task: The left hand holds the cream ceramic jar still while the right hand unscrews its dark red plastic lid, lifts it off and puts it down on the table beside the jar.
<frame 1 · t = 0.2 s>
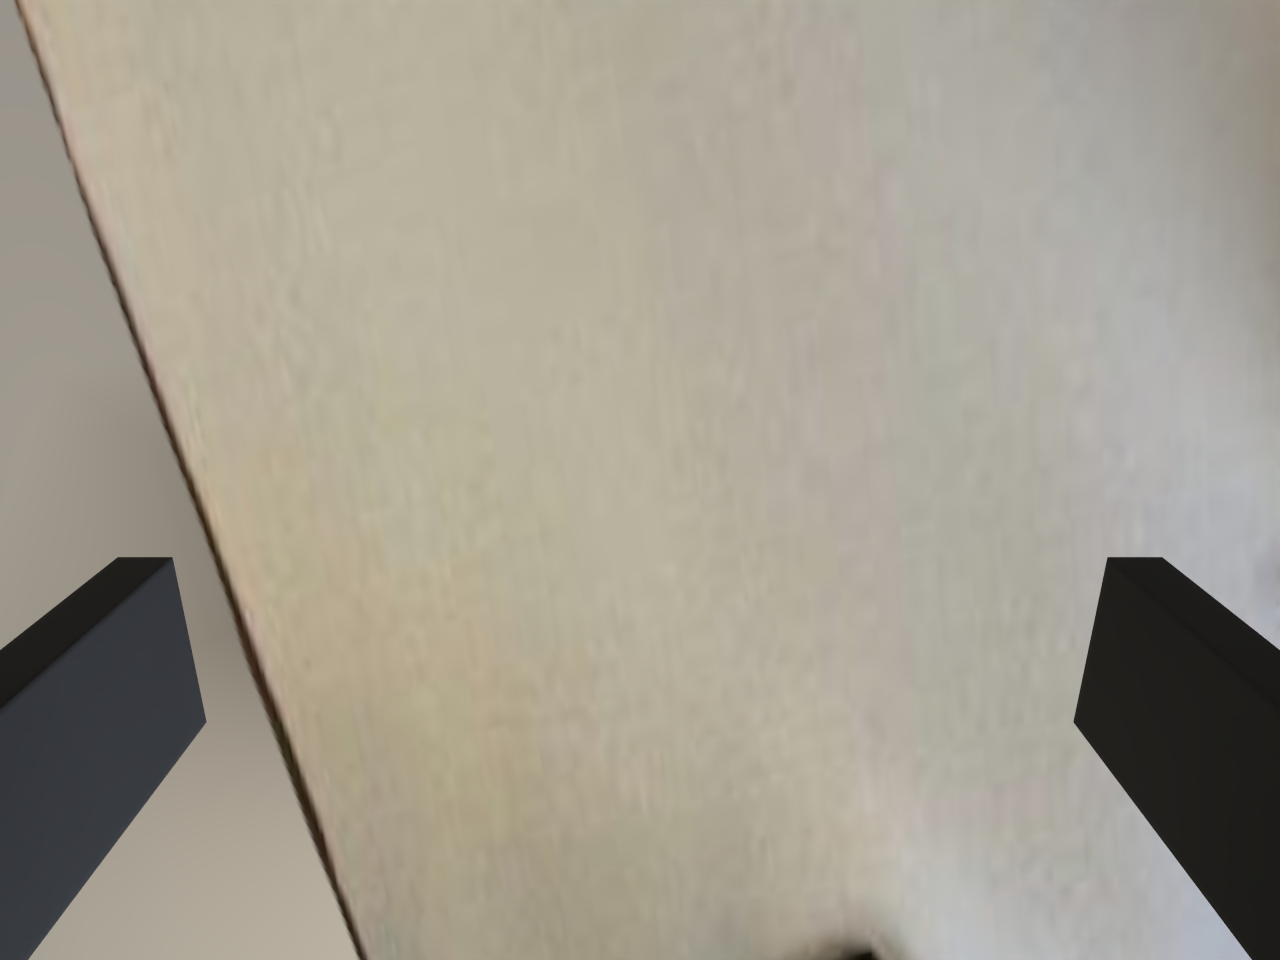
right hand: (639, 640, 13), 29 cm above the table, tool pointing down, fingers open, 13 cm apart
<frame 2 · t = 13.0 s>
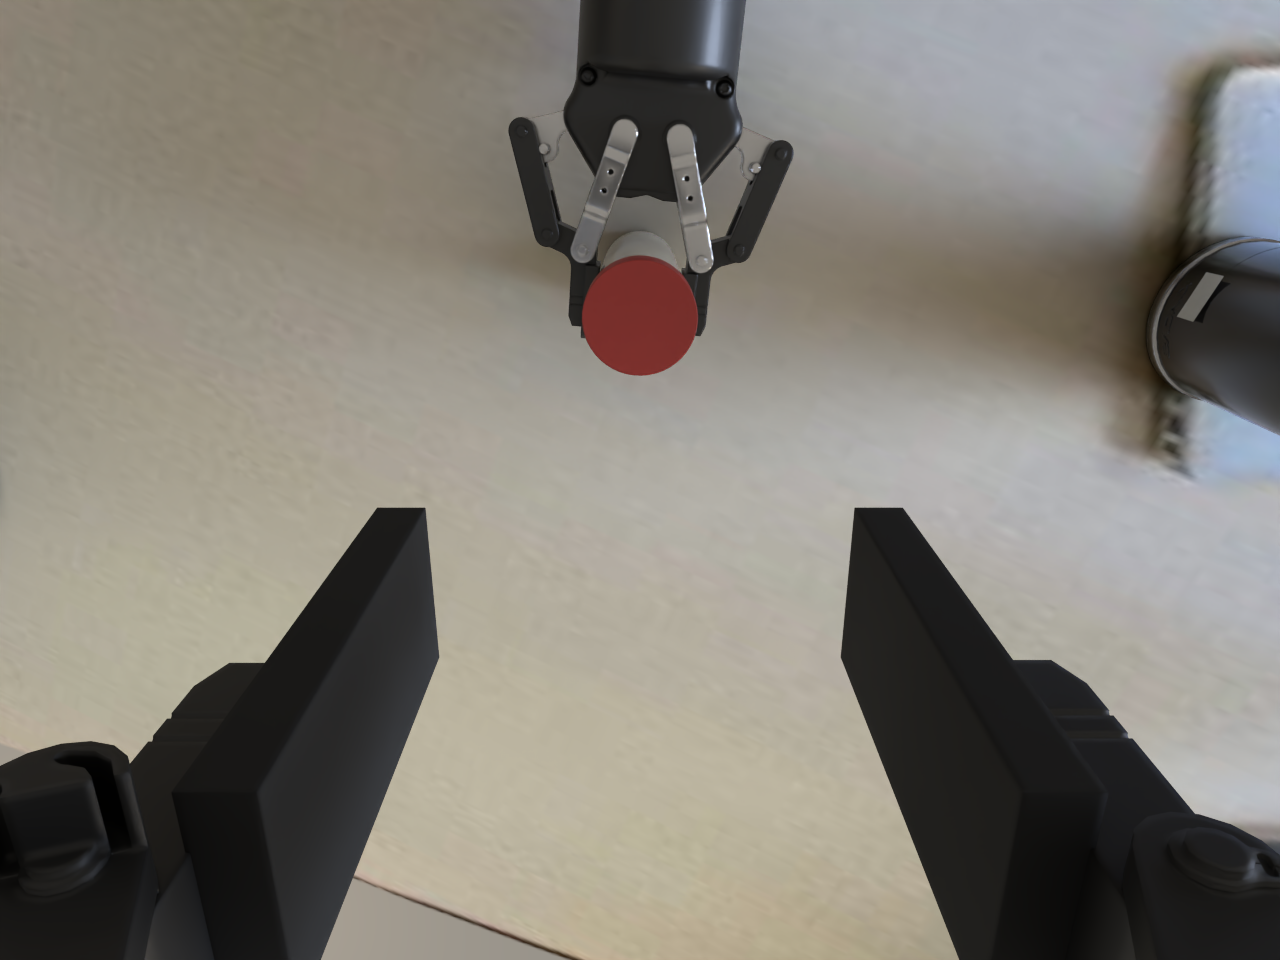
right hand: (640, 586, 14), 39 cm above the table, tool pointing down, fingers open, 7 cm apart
left hand: (634, 337, 46), fingers closed on jar, 4 cm apart
jar: (639, 268, 51), on the table, touching left hand
lid: (639, 317, 36), point 15 cm above the table, screwed on, not yet turned
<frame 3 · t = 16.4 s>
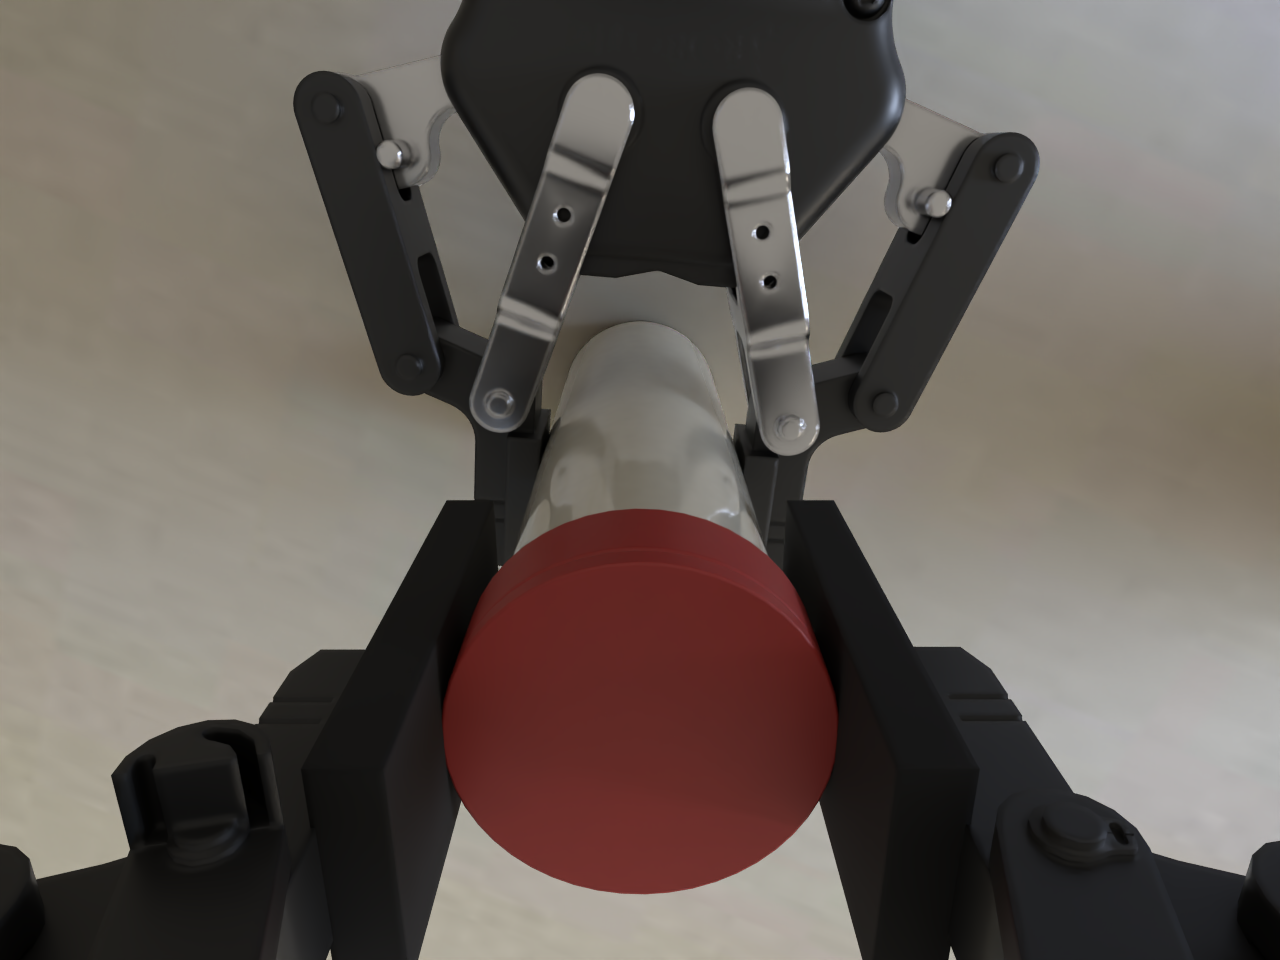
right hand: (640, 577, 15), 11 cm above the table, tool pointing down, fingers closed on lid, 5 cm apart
left hand: (628, 581, 20), fingers closed on jar, 4 cm apart
jar: (639, 395, 25), on the table, touching left hand
lid: (640, 724, 11), point 15 cm above the table, screwed on, not yet turned, touching right hand
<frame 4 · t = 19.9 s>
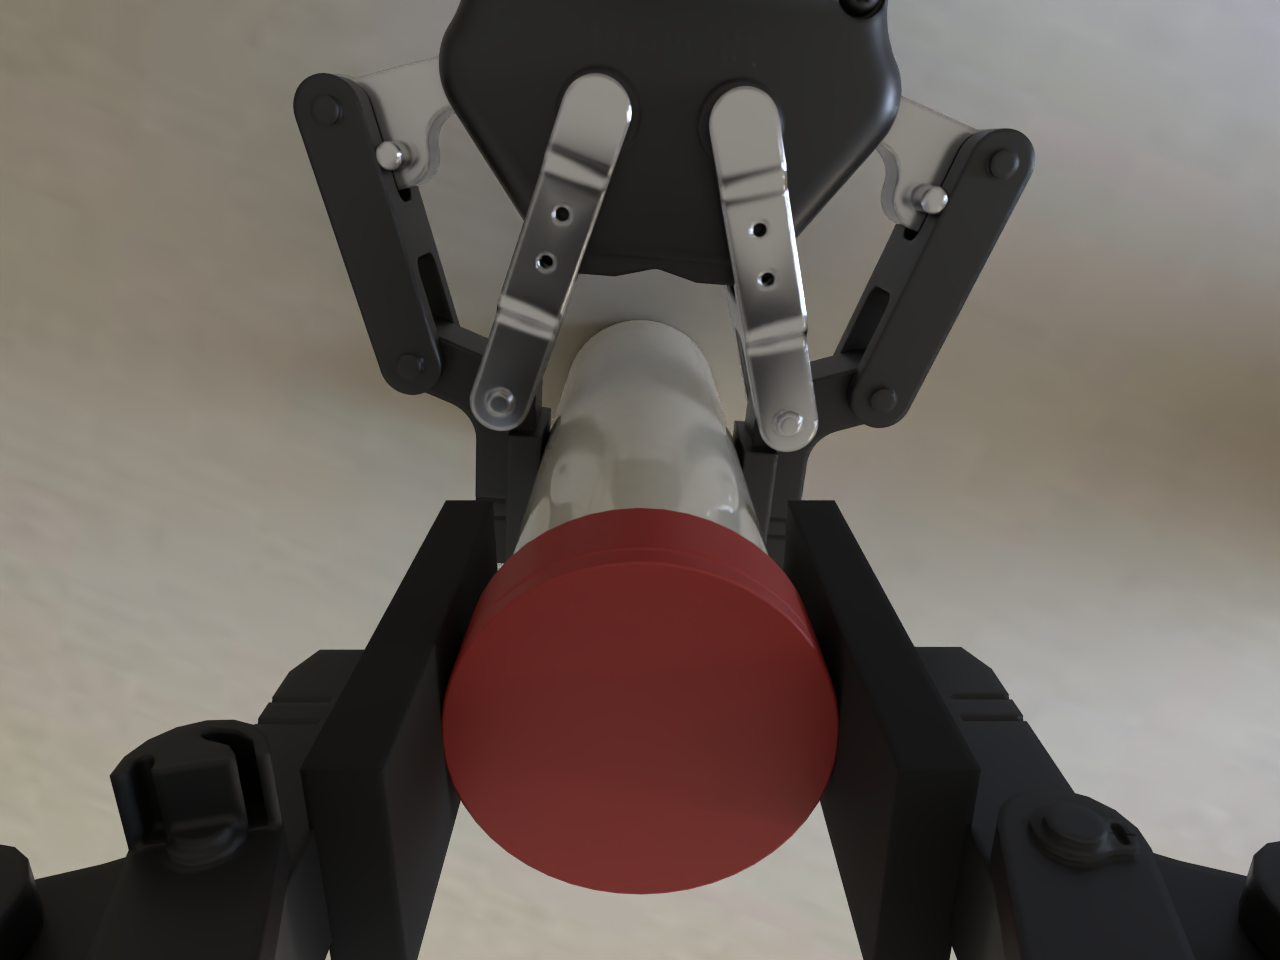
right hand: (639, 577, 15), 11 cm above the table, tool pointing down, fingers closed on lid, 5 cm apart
left hand: (629, 577, 20), fingers closed on jar, 4 cm apart
jar: (640, 393, 25), on the table, touching left hand
lid: (640, 724, 11), point 15 cm above the table, turned 126° so far, risen 0.1 cm, still on its thread, touching right hand
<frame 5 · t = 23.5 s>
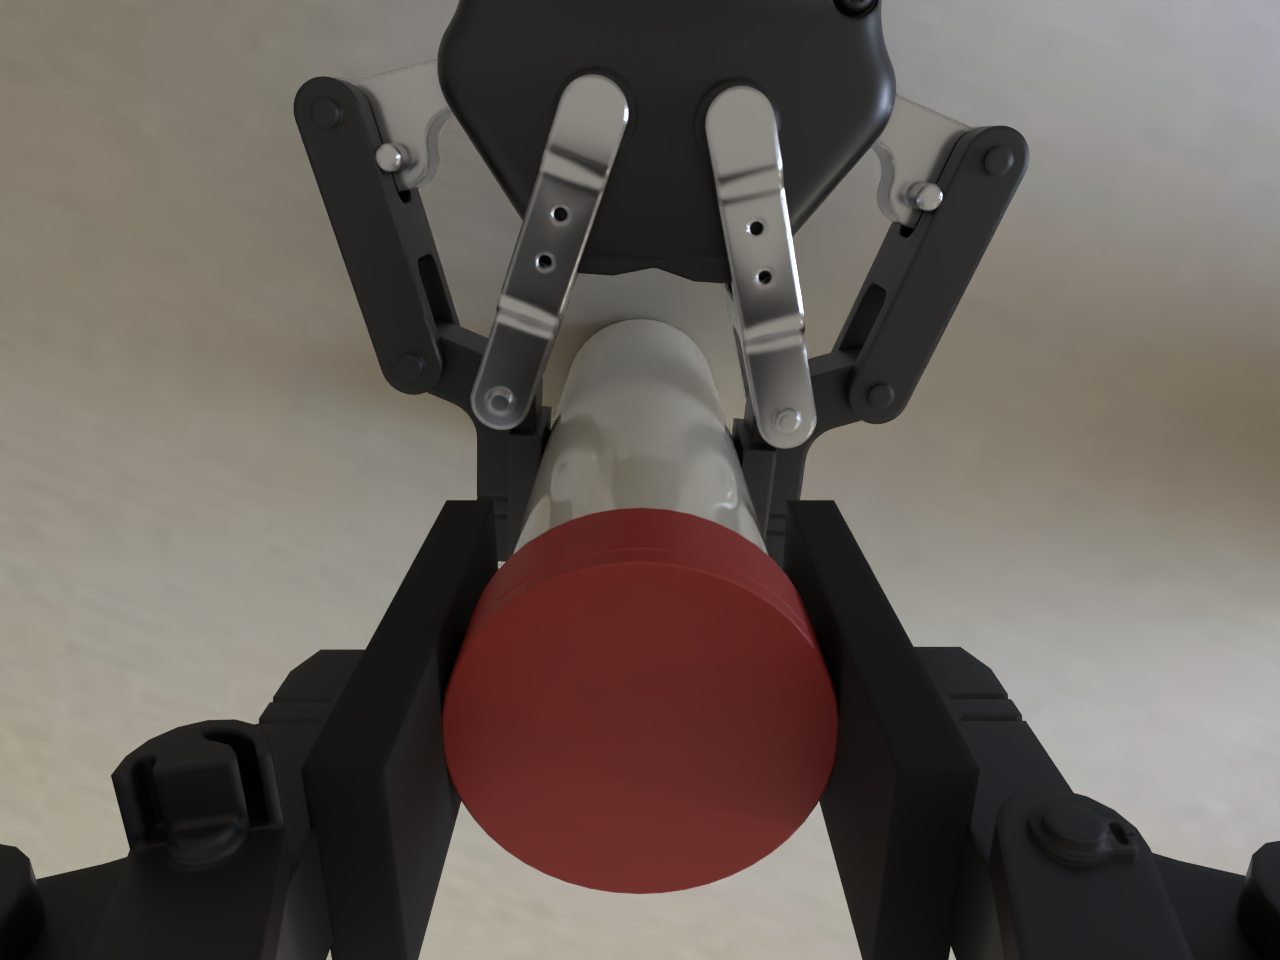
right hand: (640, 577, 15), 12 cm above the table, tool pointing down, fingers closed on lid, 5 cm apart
left hand: (630, 575, 21), fingers closed on jar, 4 cm apart
jar: (640, 392, 25), on the table, touching left hand
lid: (640, 723, 11), point 16 cm above the table, turned 252° so far, risen 0.3 cm, still on its thread, touching right hand
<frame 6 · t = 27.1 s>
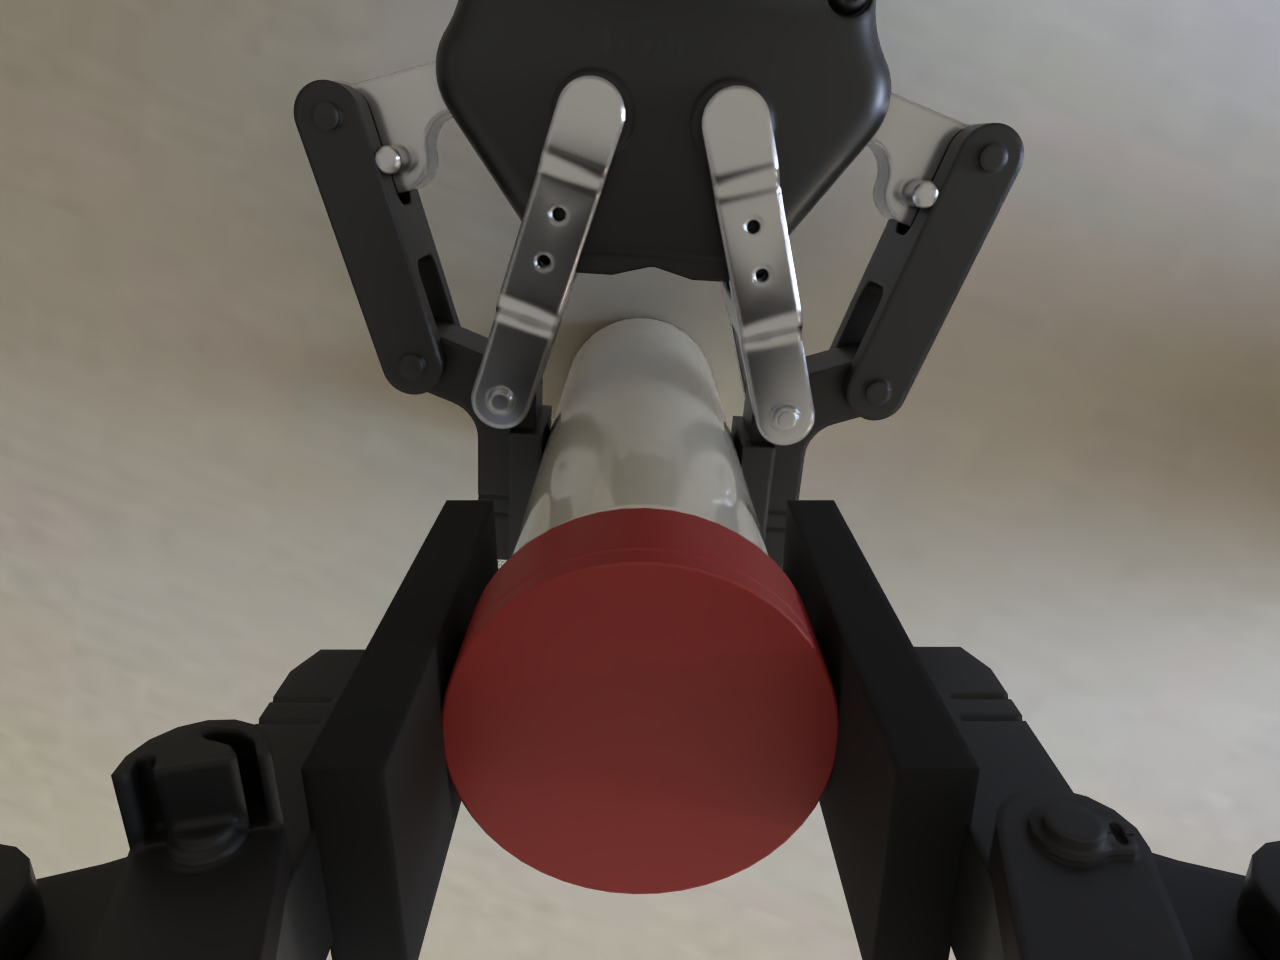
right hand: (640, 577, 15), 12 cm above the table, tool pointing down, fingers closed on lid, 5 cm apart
left hand: (631, 572, 21), fingers closed on jar, 4 cm apart
jar: (640, 390, 26), on the table, touching left hand
lid: (640, 724, 11), point 16 cm above the table, turned 378° so far, risen 0.4 cm, still on its thread, touching right hand
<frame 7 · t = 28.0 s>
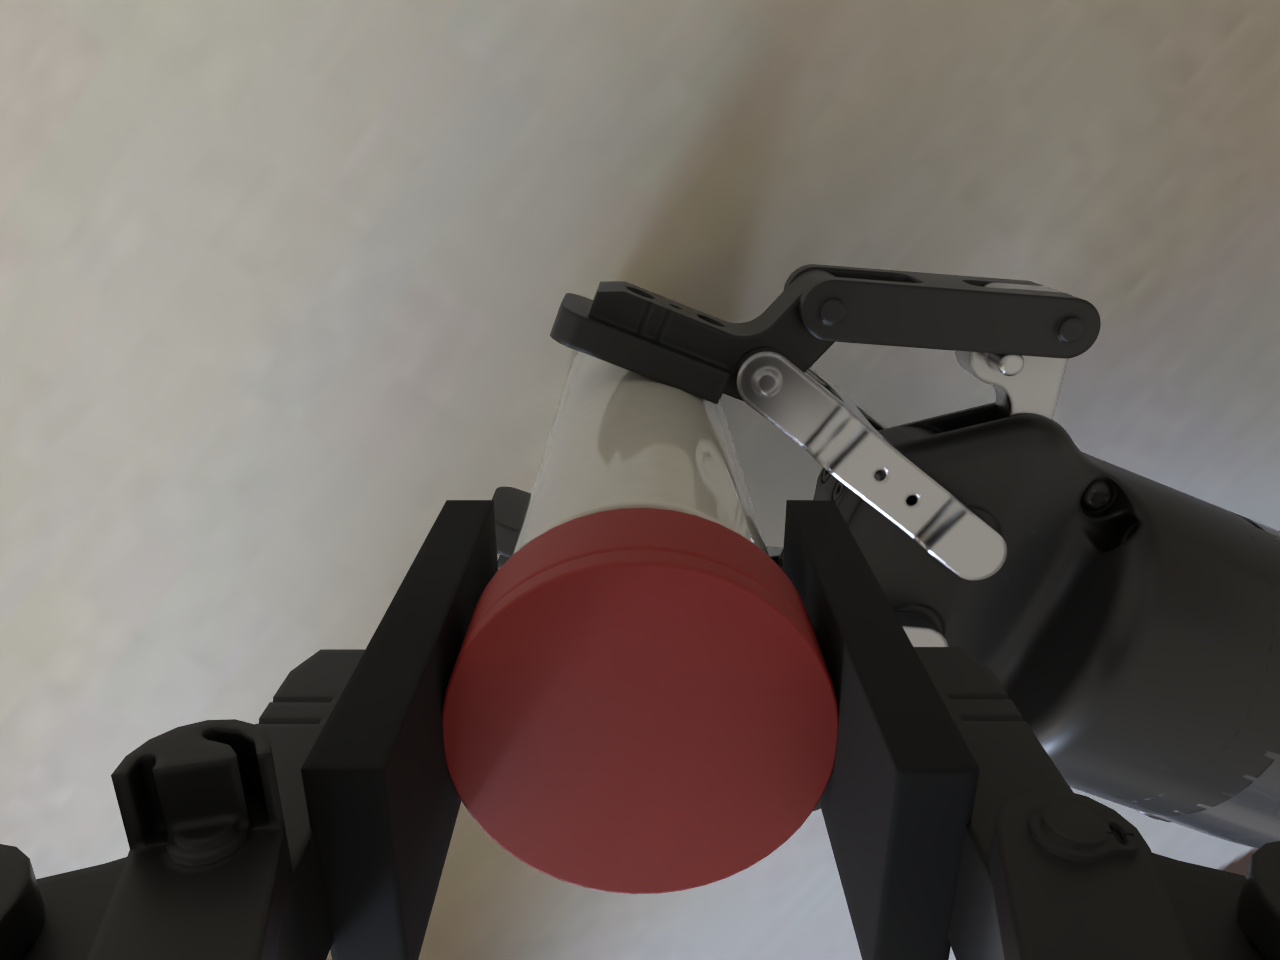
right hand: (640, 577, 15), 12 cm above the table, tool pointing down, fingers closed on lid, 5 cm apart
left hand: (525, 417, 19), fingers closed on jar, 4 cm apart
jar: (640, 389, 26), on the table, touching left hand
lid: (640, 723, 11), point 16 cm above the table, turned 486° so far, risen 0.5 cm, still on its thread, touching right hand
when the right hand's fingers open (0 cm above the table, at t = 36.5 s): lid drops 2 cm, point 1 cm above the table.
when the left hand's fingers open (6 cm above the table, at t = 37.0 s): jar stays where it is, on the table.
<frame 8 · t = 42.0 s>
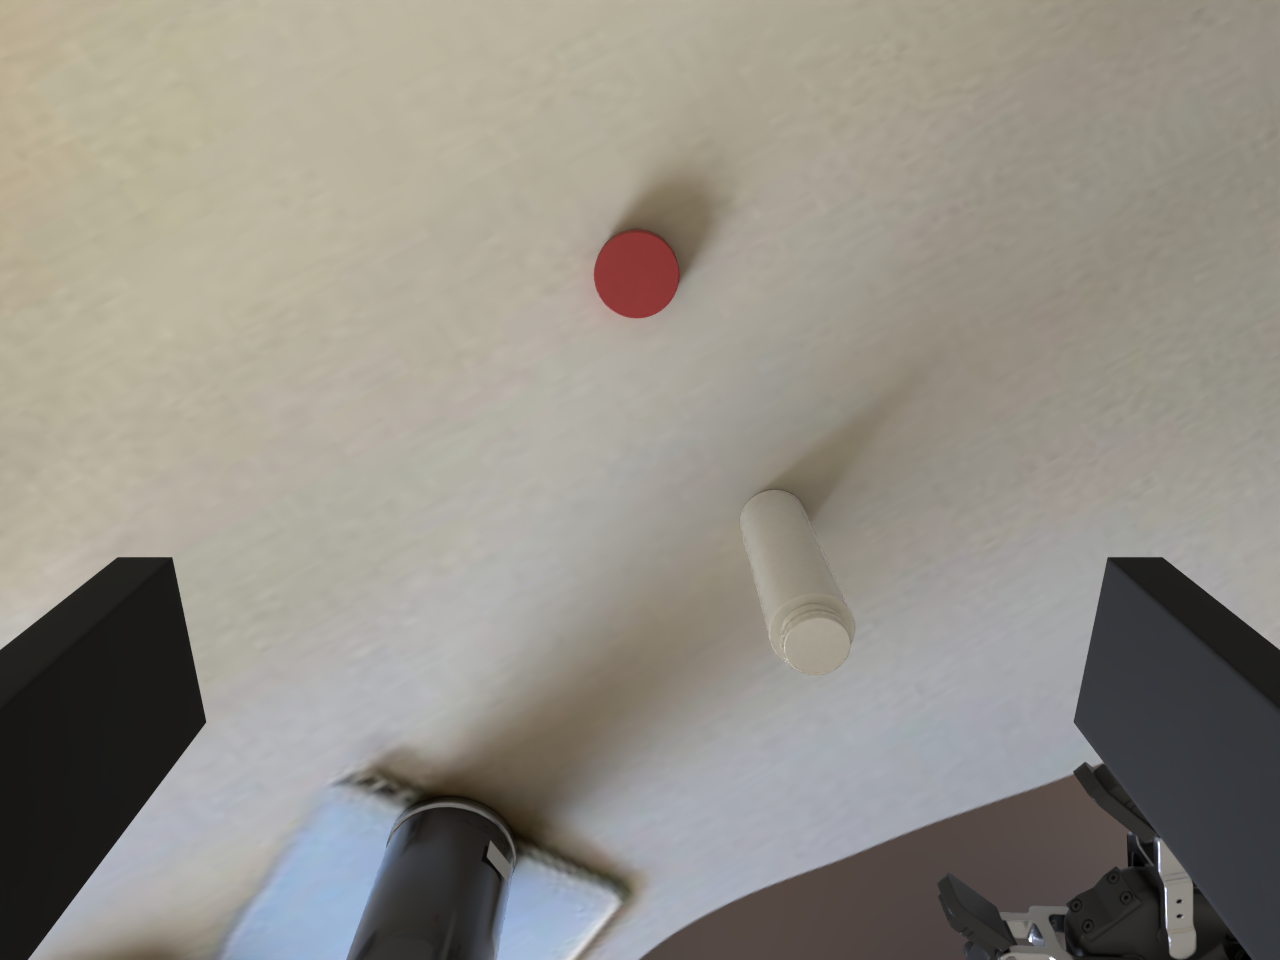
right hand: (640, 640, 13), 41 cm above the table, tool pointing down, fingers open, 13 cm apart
jar: (772, 520, 56), on the table
lid: (636, 275, 50), point 1 cm above the table, off its thread
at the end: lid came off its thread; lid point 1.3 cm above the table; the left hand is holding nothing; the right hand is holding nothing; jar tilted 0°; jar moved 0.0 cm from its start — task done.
